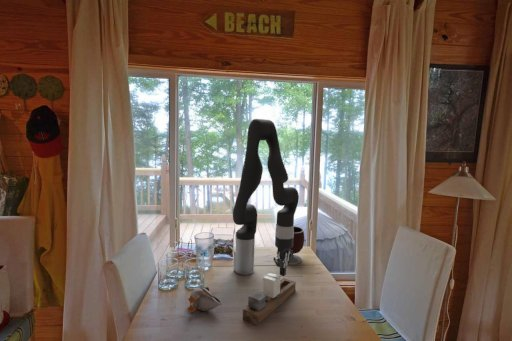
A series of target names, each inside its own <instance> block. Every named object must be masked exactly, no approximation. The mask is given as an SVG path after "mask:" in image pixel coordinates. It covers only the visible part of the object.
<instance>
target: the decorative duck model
mask: <svg viewBox="0 0 512 341" xmlns="http://www.w3.org/2000/svg"><path fill="white" fill-rule="evenodd" d="M187 300H188V301H189V304H190V305H189V307H188V308H187V310H189V313H190V314H191V313H193V312H194V311H196V310H197V309H198V310H199V311H202V312H205V311H210V310H214V309H217V308H218V307H220V306H221V305H222V303H221V301H220V299H218V298H217V297H216V296H215V295H213V294H212V293H211V292H210V288H209V287H208V286H204V287H199V288H197V287H196V288H195V289H193V290H192V292H191V294H190V297H189V298H188V299H187Z"/></svg>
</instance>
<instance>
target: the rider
mask: <svg viewBox="0 0 512 341" xmlns="http://www.w3.org/2000/svg"><path fill="white" fill-rule="evenodd" d="M281 277H282V276H281V275H279V274H275V273H272V272H269V273H267V274H265V275H264V276H263V277H262V294H263V295H266V300H267V301H269V300H270V299H271V298H275V297H276V296H277V295H278V294H279V293H280V280H281Z"/></svg>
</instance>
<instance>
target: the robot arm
mask: <svg viewBox="0 0 512 341" xmlns="http://www.w3.org/2000/svg"><path fill="white" fill-rule="evenodd" d="M246 137H247V138H246V147H245V156H244V162H243V167H242V171H241V176H240V183H239V187H238V188H239V189H238V193H237V197H236V199H235V203H234V206H233V210H232V220H233V222H234V224H235V225H237V226H241V227H240V228H239V229H238V230H237V231H236V232H235V251H233V271H234V272H235V273H236V274H238V275H243V276H244V275H245V276H246V275H251V274H253V273H254V272H255V271H254V270H255V243H256V242H255V240H256V239H255V238H256V237H255V236H256V234H257V225H258V209H257V208H256V206H255V205H254V204H250V203H249V201H250V199H251V197H252V195H253V194H254V193H255V191H256V190H257V188H259V185H260V184H261V180H262V178H263V177H262V176H263V170H264V167H263V164H262V161H261V160H262V159H260V155H259V147H260V141H265V142H266V144H267V146H268V157H267V162H266V163H267V164H266V165H267V171H268V173H269V177H270V179H271V185H272V187H271V188H272V197H273V201H274V203H275V204H277V205H278V206H281V207H282V206H283V208H281V209H279V210H278V211H277V213H276V224H275V233H274V236H275V239H274V246H275V247H276V248H277V251H276V256H275V257H273V261H274V263H275V265H276V267H277V268H279V276H281V277H285V276H286V275H287V267H288V265H290V264H289V262H290V259H291V256H292V253H293V250H290V248H292V247H293V239H294V226H295V225H294V224H295V223H294V222H295V220H294V219H295V214H296V211H297V207H298V204H299V200H300V196H299V192H298V190H297V189H296V188H295V187H292V186H289V187H285V186H284V184H285V183H287V181H289V175H288V173H287V169H286V167H285V164H284V161H283V157H282V153H281V148H280V143H279V137H278V133H277V128H276V125H275V123H274V121H272V120H270V119H264V118H263V119H262V118H254V119H251V121H250V123H249V126H248V129H247V136H246ZM248 203H249V204H248Z"/></svg>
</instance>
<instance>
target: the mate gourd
mask: <svg viewBox="0 0 512 341" xmlns="http://www.w3.org/2000/svg"><path fill="white" fill-rule="evenodd" d="M304 244H305V232H304V228H302V227H300V226H295V225H294V239H293V247H292V248H290V250H293V253H292V256H291V259H290V262H289V264H288V265H298V263H299V264H301V263H302V262H303V261H302V260H303V259H302V257H301V256H299V255H296V254H298V253H300V252H301V250H303V247H304ZM301 261H302V262H301Z"/></svg>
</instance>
